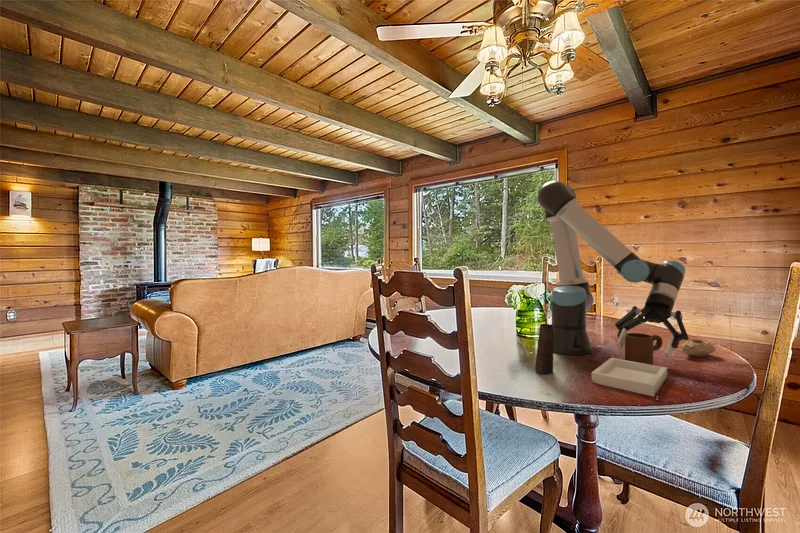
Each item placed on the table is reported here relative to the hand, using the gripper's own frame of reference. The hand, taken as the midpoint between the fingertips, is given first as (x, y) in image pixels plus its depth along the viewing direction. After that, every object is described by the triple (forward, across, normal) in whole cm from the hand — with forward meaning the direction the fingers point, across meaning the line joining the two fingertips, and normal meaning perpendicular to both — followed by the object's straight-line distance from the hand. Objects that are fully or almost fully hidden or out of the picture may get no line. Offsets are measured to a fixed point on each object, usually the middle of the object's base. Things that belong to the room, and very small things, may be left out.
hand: (641, 350), depth 111 cm
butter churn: (+24, +15, +18) cm, 34 cm away
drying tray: (+15, -3, +8) cm, 17 cm away
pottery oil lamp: (-14, -6, -21) cm, 26 cm away
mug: (+2, 0, -5) cm, 5 cm away
